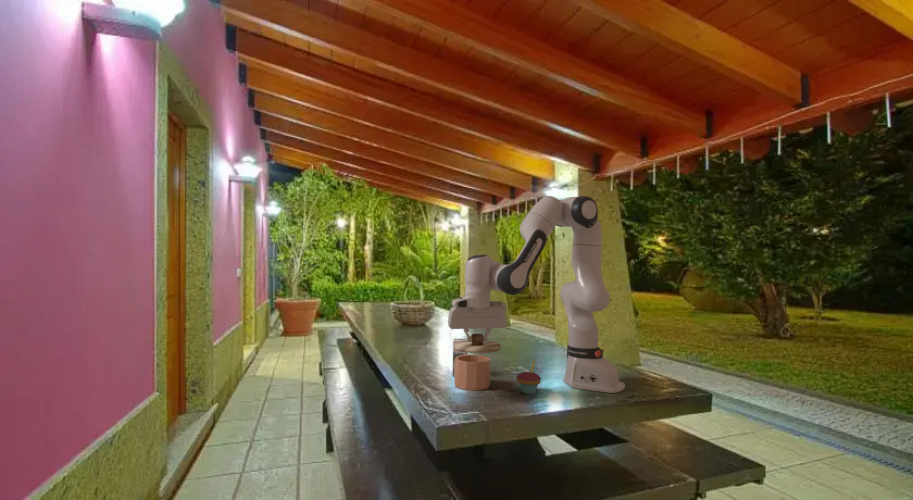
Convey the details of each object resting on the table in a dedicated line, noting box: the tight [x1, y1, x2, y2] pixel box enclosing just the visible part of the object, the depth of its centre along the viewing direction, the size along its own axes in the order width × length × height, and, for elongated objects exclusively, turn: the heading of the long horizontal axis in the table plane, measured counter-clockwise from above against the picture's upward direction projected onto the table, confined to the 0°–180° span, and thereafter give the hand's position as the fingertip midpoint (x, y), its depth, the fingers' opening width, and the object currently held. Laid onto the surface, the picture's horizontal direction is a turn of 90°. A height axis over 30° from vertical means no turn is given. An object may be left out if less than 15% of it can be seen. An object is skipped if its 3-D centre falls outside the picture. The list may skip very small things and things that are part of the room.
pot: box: [454, 354, 491, 392], centre depth 171 cm, size 13×13×10 cm
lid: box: [454, 333, 501, 354], centre depth 160 cm, size 16×16×5 cm
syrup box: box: [451, 337, 469, 378], centre depth 186 cm, size 6×6×14 cm
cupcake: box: [516, 358, 542, 395], centre depth 165 cm, size 9×8×12 cm
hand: (477, 341), depth 160 cm, fingers closed on lid, 4 cm apart
